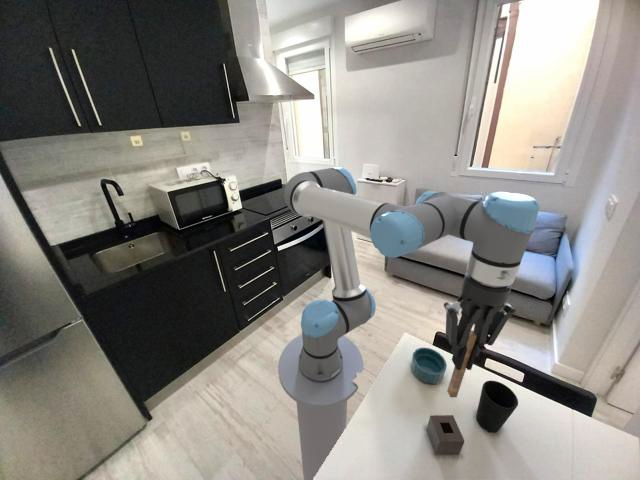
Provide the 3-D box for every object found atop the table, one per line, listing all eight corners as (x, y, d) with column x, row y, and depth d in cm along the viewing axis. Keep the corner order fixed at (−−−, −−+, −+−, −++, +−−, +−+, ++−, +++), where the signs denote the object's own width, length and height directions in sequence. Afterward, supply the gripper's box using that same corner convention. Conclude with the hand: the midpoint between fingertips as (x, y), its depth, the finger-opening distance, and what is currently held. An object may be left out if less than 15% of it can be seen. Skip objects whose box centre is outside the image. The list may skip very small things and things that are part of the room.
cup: (479, 402, 76) (490, 375, 70) (508, 424, 70) (523, 396, 65) (466, 419, 71) (477, 391, 66) (496, 444, 66) (510, 416, 61)
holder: (435, 454, 64) (439, 441, 62) (426, 428, 70) (430, 415, 67) (459, 454, 64) (464, 441, 61) (448, 428, 69) (453, 415, 67)
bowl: (404, 370, 86) (406, 359, 83) (419, 352, 92) (422, 342, 90) (434, 391, 79) (437, 380, 77) (448, 371, 85) (451, 360, 83)
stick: (450, 397, 62) (469, 336, 53) (447, 391, 63) (465, 330, 54) (456, 397, 62) (477, 336, 53) (453, 391, 63) (472, 330, 54)
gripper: (458, 290, 44) (435, 380, 55) (544, 288, 44) (504, 379, 54) (440, 267, 51) (422, 351, 61) (514, 266, 51) (484, 350, 61)
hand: (461, 364), depth 58 cm, fingers closed on stick, 2 cm apart
